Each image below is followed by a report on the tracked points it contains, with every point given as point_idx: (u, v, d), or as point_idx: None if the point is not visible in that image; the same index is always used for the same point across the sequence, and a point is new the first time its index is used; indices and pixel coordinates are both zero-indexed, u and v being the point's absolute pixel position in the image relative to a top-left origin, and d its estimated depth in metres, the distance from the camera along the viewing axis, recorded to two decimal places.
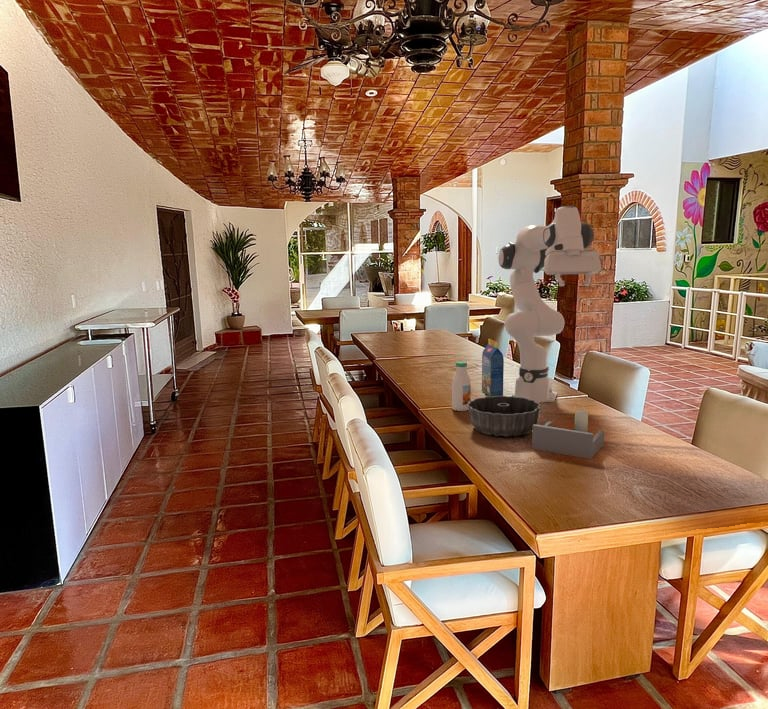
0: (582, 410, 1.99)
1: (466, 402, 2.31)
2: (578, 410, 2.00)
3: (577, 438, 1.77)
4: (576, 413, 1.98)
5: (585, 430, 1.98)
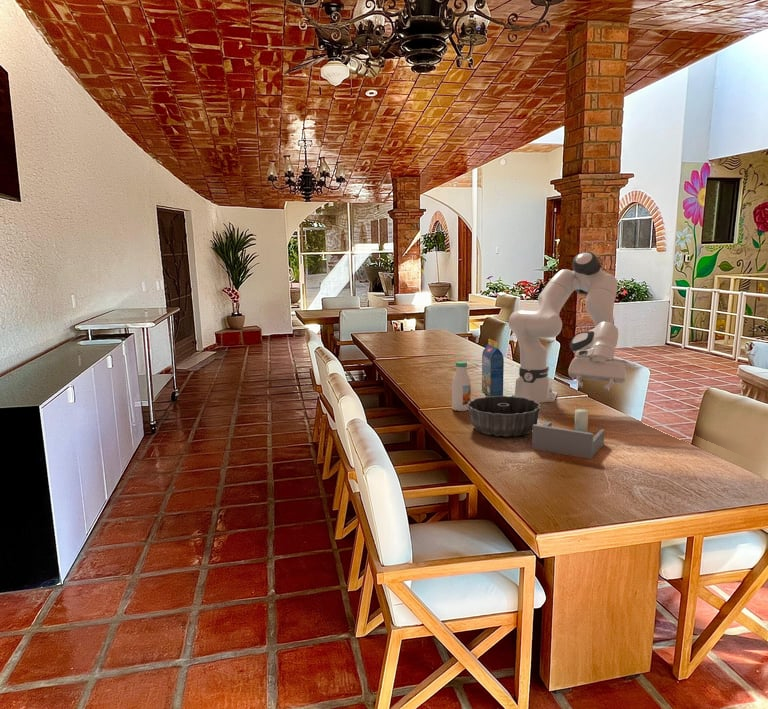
0: (582, 410, 1.99)
1: (466, 402, 2.31)
2: (578, 410, 2.00)
3: (577, 438, 1.77)
4: (576, 413, 1.98)
5: (585, 430, 1.98)
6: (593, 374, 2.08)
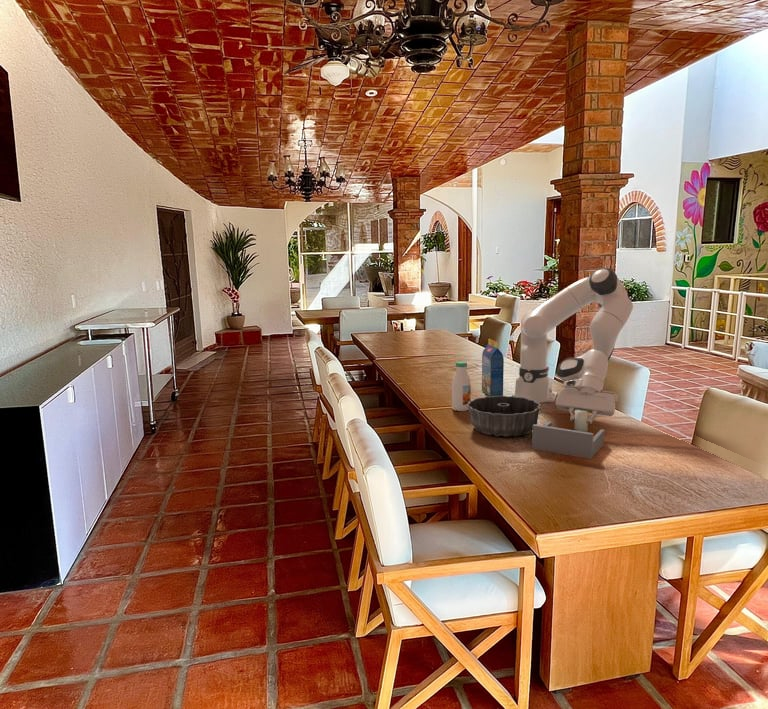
0: (582, 410, 1.99)
1: (466, 402, 2.31)
2: (578, 410, 2.00)
3: (577, 438, 1.77)
4: (576, 413, 1.98)
5: (585, 430, 1.98)
6: (581, 406, 2.01)
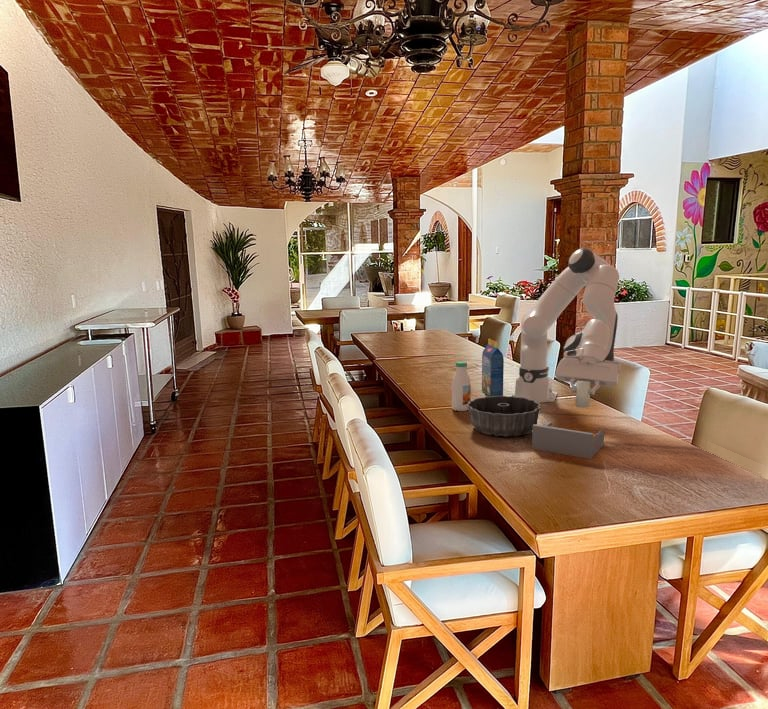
0: (584, 380, 1.89)
1: (466, 402, 2.31)
2: (580, 380, 1.89)
3: (577, 438, 1.77)
4: (578, 384, 1.88)
5: (587, 401, 1.88)
6: (583, 377, 1.90)
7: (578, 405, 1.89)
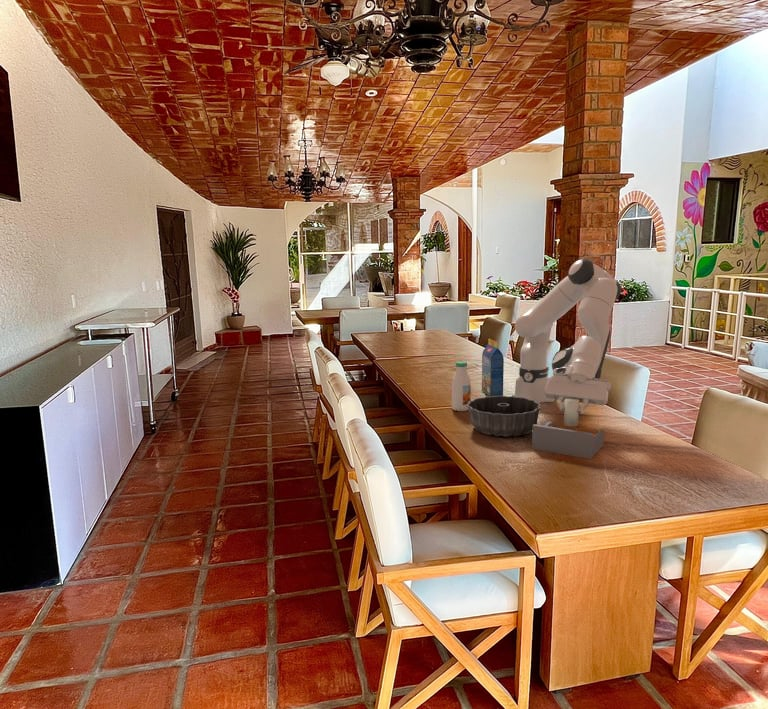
0: (572, 399, 1.85)
1: (466, 402, 2.31)
2: (568, 399, 1.86)
3: (577, 438, 1.77)
4: (566, 402, 1.84)
5: (576, 420, 1.84)
6: (571, 395, 1.87)
7: (566, 424, 1.85)
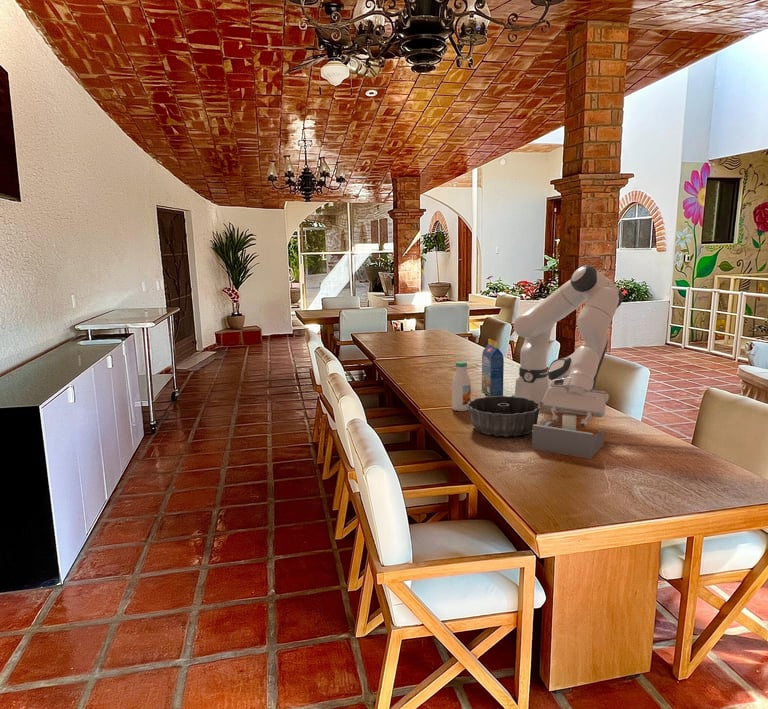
0: (570, 415, 1.87)
1: (466, 402, 2.31)
2: (566, 415, 1.87)
3: (577, 438, 1.77)
4: (563, 418, 1.86)
5: None
6: (569, 407, 1.88)
7: None
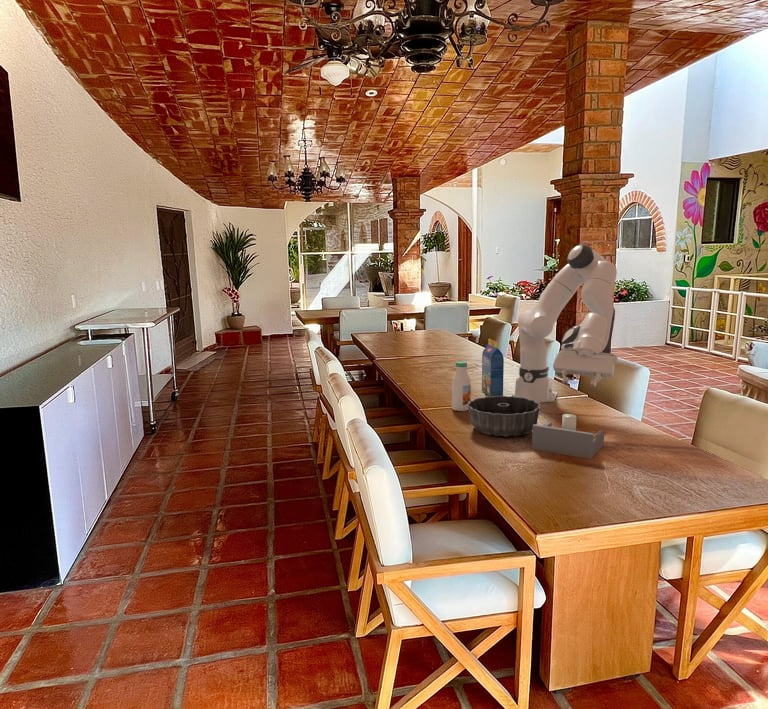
0: (570, 415, 1.87)
1: (466, 402, 2.31)
2: (566, 415, 1.87)
3: (577, 438, 1.77)
4: (563, 418, 1.86)
5: None
6: (579, 369, 1.95)
7: None
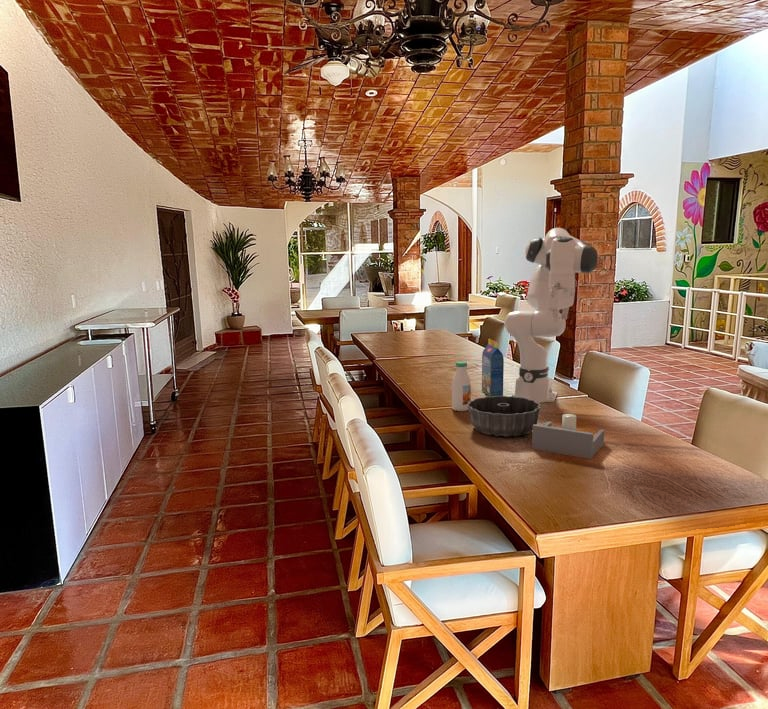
0: (570, 415, 1.87)
1: (466, 402, 2.31)
2: (566, 415, 1.87)
3: (577, 438, 1.77)
4: (563, 418, 1.86)
5: None
6: None
7: None
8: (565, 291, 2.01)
